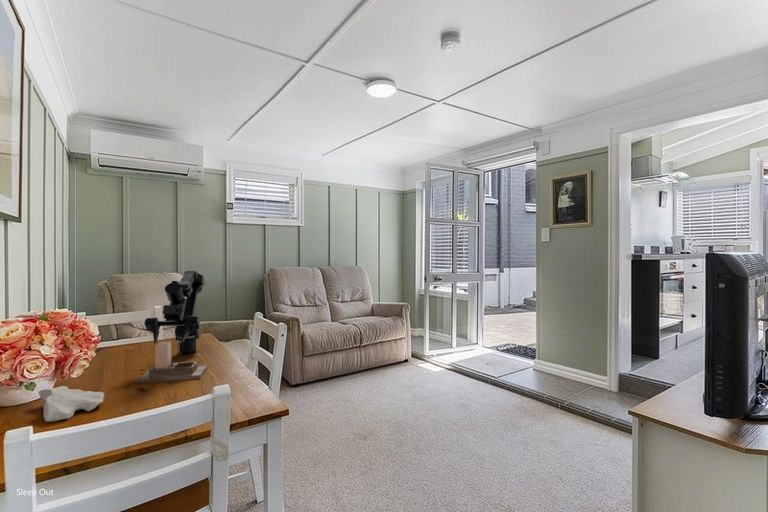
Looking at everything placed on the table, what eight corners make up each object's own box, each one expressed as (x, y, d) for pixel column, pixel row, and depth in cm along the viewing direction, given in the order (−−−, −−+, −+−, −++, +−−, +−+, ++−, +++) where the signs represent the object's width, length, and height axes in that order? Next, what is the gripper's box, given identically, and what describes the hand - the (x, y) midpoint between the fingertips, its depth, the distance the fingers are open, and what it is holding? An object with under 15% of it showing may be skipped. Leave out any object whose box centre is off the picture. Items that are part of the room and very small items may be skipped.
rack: (149, 372, 140) (149, 363, 140) (206, 368, 145) (206, 359, 145) (136, 383, 129) (136, 372, 129) (200, 378, 134) (200, 368, 134)
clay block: (159, 371, 138) (159, 342, 138) (171, 370, 139) (171, 341, 139) (155, 375, 133) (155, 345, 133) (167, 374, 134) (167, 344, 134)
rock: (99, 392, 122) (37, 399, 112) (101, 378, 122) (39, 384, 112) (106, 419, 106) (34, 430, 96) (108, 402, 106) (37, 412, 96)
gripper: (145, 297, 145) (134, 331, 134) (198, 296, 149) (191, 329, 139) (152, 314, 152) (143, 347, 142) (202, 312, 157) (196, 344, 147)
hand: (168, 342), depth 142 cm, fingers open, 9 cm apart
